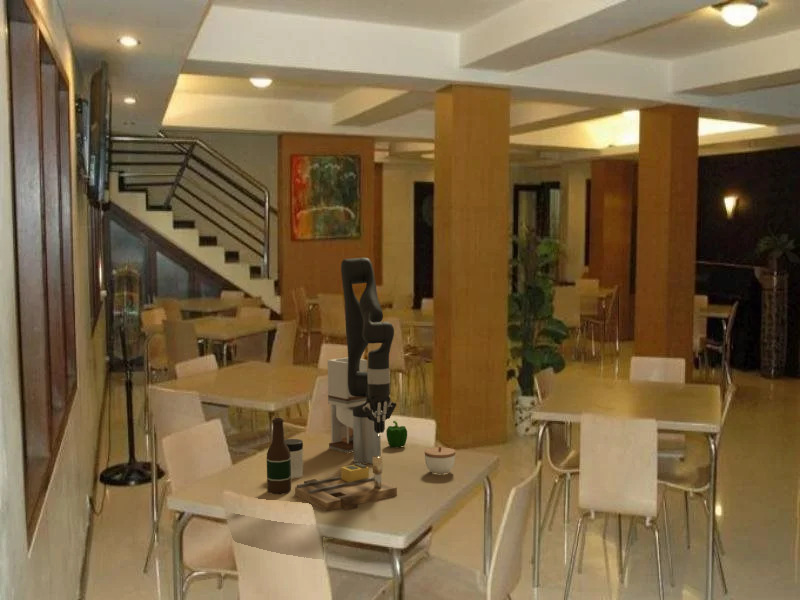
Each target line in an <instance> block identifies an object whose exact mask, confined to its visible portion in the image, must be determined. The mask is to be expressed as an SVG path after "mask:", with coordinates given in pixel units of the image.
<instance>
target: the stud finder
mask: <svg viewBox="0 0 800 600" xmlns="http://www.w3.org/2000/svg"><path fill="white" fill-rule="evenodd" d="M369 469H370V468H369V467H368V466H367V465H366V464H360V463H355V462H354V463H353V464H351V465H346V466H340V476H341V479H342V480H345V481H347V482H352V481H357V480H361V479H366V478H369V476H370V471H369Z"/></svg>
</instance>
